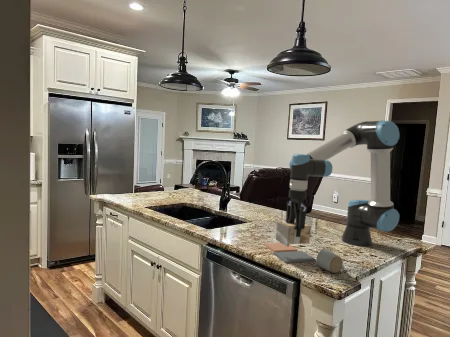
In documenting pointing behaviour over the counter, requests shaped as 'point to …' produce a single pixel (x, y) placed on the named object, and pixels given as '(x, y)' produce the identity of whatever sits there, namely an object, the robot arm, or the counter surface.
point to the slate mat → (294, 257)
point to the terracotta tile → (280, 247)
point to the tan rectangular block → (291, 234)
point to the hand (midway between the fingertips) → (293, 241)
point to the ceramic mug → (329, 261)
